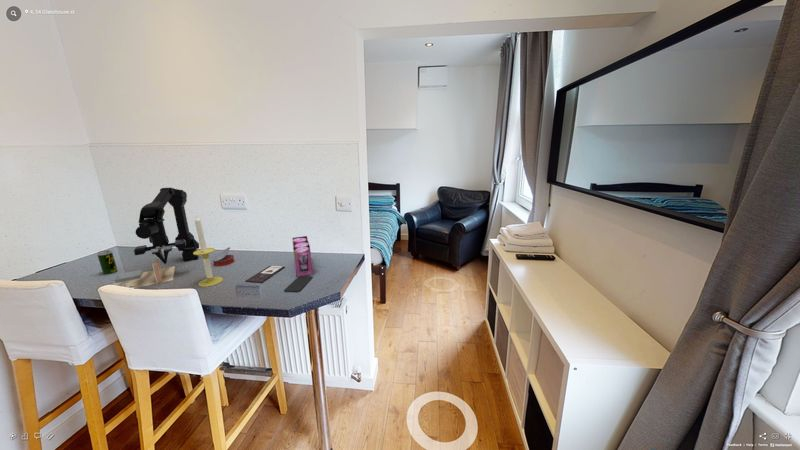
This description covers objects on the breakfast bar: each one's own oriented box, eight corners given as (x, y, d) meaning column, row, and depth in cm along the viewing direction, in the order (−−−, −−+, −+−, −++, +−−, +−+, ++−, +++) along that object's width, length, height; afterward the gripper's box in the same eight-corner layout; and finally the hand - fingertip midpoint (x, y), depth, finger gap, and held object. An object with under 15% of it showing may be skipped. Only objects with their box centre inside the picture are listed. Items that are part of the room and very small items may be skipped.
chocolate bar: (245, 280, 133) (269, 265, 150) (245, 282, 134) (269, 267, 151) (261, 282, 132) (285, 266, 149) (262, 284, 132) (285, 268, 149)
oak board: (175, 266, 154) (175, 266, 154) (172, 280, 137) (172, 280, 137) (117, 278, 141) (117, 277, 141) (106, 295, 124) (106, 294, 124)
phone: (313, 276, 137) (299, 291, 122) (313, 278, 137) (299, 293, 122) (298, 276, 137) (282, 290, 123) (298, 277, 138) (283, 292, 123)
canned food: (230, 272, 156) (224, 260, 149) (212, 271, 156) (205, 259, 149) (240, 256, 164) (234, 245, 157) (223, 255, 164) (216, 243, 157)
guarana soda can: (100, 276, 144) (93, 254, 141) (108, 272, 149) (101, 250, 146) (113, 275, 145) (106, 252, 142) (120, 270, 150) (114, 249, 147)
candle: (207, 277, 140) (193, 212, 131) (227, 277, 139) (214, 211, 131) (192, 287, 130) (176, 217, 121) (214, 286, 129) (199, 216, 121)
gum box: (313, 275, 138) (310, 249, 135) (296, 278, 136) (293, 251, 132) (309, 258, 160) (307, 235, 157) (295, 261, 157) (291, 237, 154)
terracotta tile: (163, 275, 142) (159, 258, 139) (161, 281, 135) (157, 263, 133) (158, 276, 141) (154, 259, 138) (156, 282, 134) (152, 264, 132)
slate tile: (142, 269, 145) (118, 274, 140) (139, 275, 139) (114, 280, 134) (143, 273, 146) (119, 277, 141) (140, 278, 139) (115, 283, 134)
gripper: (182, 225, 145) (189, 254, 149) (134, 232, 135) (142, 263, 139) (182, 230, 137) (189, 261, 141) (129, 238, 126) (139, 270, 130)
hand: (165, 263), depth 138 cm, fingers closed
